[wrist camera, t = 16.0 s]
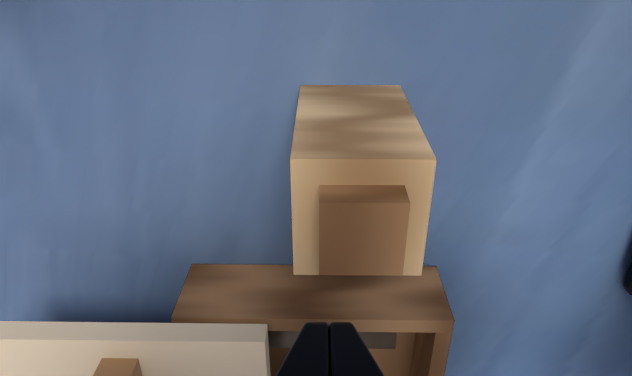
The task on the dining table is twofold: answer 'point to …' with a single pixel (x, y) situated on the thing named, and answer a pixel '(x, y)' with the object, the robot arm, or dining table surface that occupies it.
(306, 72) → the dining table surface
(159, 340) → the lid
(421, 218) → the wooden block
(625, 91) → the dining table surface
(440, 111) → the dining table surface
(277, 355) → the wooden box
